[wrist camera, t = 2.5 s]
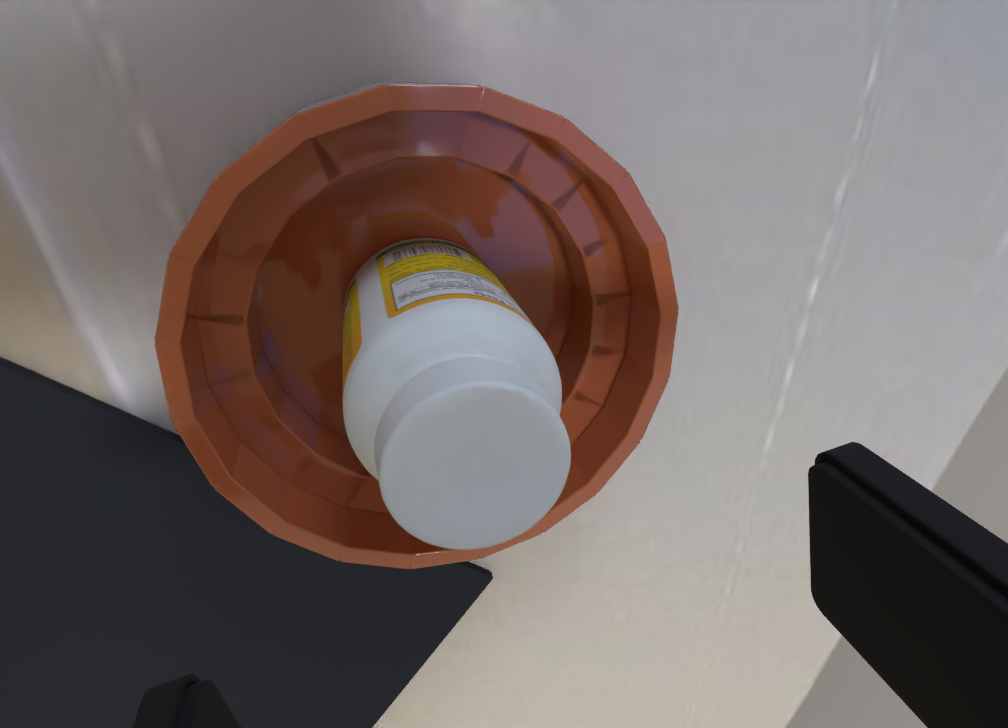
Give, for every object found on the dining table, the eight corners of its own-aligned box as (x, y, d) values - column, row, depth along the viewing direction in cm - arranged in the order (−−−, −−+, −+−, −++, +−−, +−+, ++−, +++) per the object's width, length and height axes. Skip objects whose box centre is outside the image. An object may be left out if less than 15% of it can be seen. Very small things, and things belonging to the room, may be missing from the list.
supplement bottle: (425, 199, 20) (492, 289, 12) (532, 313, 22) (653, 457, 14) (304, 316, 21) (283, 485, 12) (421, 415, 23) (471, 615, 15)
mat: (-220, 669, 22) (-229, 679, 21) (-44, 338, 19) (-51, 342, 19) (315, 790, 30) (315, 798, 30) (491, 571, 27) (493, 578, 27)
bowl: (108, 376, 20) (53, 449, 16) (352, -31, 18) (357, -64, 14) (467, 540, 26) (491, 623, 22) (692, 254, 23) (766, 290, 19)
